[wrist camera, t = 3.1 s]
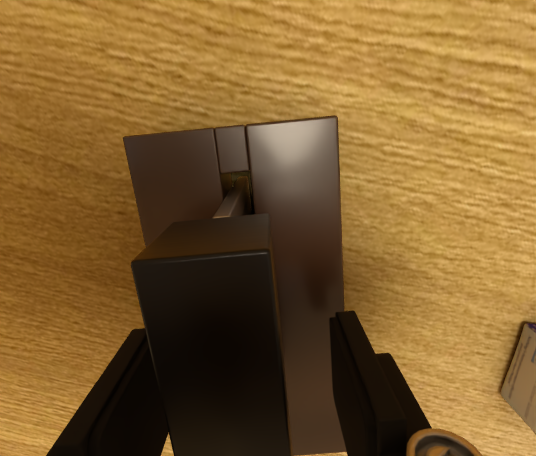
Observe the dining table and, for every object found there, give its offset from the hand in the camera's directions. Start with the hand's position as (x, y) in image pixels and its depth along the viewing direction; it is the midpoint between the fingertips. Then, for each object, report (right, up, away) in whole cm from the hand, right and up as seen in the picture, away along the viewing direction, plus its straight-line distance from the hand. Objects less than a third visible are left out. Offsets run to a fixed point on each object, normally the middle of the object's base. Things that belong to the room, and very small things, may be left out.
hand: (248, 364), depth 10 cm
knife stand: (0, +2, +5) cm, 6 cm away
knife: (0, +2, +5) cm, 6 cm away
